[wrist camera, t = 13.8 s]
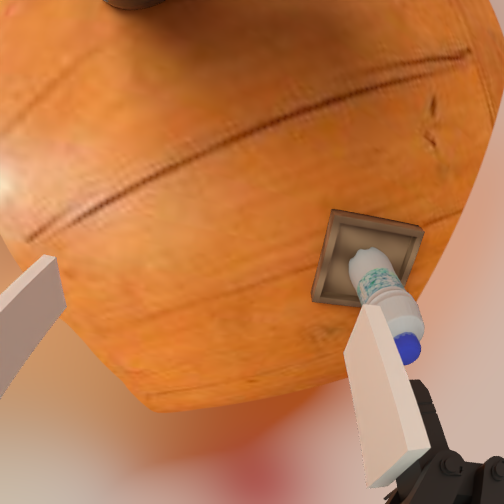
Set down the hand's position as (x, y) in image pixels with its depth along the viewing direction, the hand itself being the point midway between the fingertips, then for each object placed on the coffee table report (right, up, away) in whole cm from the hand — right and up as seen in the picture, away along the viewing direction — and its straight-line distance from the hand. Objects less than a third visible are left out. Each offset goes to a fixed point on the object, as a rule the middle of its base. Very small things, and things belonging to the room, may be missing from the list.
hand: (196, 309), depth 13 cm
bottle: (+19, +1, +33) cm, 38 cm away
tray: (+19, +1, +34) cm, 39 cm away
